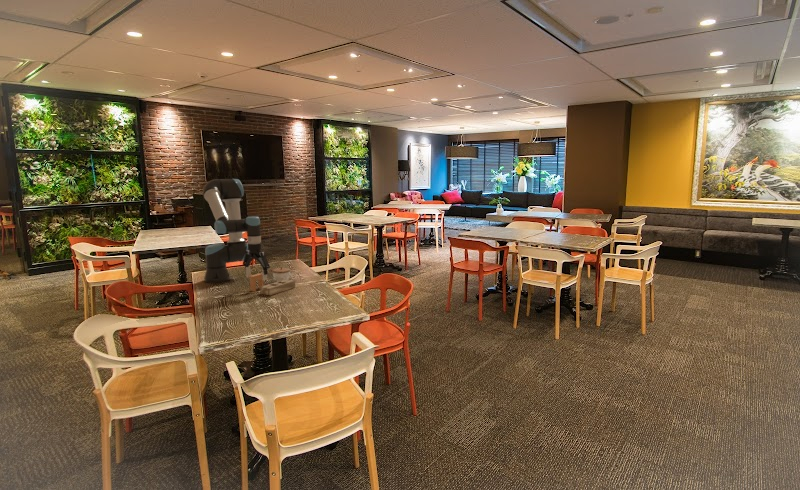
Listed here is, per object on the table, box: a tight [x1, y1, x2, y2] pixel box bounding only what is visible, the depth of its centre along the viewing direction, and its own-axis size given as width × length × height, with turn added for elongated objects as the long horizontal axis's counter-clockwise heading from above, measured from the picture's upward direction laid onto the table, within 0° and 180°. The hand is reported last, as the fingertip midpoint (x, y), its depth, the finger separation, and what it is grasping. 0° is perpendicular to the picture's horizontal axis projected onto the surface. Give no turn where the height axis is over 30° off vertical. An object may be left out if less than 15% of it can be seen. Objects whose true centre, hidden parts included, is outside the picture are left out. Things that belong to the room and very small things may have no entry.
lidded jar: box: [272, 266, 291, 282], centre depth 270 cm, size 11×11×9 cm
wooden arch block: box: [249, 272, 265, 292], centre depth 252 cm, size 3×8×9 cm, turn 150°
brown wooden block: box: [259, 279, 296, 296], centre depth 251 cm, size 8×20×4 cm, turn 150°
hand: (256, 278), depth 251 cm, fingers open, 13 cm apart
